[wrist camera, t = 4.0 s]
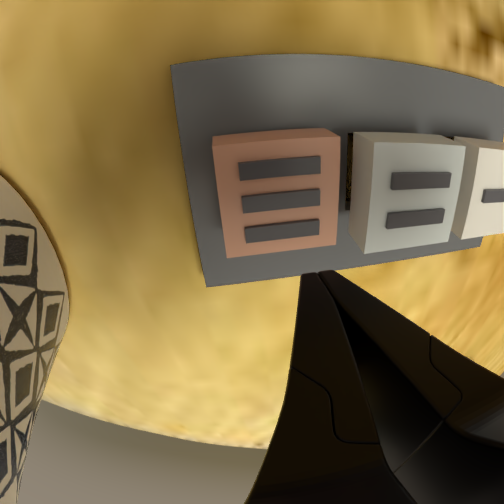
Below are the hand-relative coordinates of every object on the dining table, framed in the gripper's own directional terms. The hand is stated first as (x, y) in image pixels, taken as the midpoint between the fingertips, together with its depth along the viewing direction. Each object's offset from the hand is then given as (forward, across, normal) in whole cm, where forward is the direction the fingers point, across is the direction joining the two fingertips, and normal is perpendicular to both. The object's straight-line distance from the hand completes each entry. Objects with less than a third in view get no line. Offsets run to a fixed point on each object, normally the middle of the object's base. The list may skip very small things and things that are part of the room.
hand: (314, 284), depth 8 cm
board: (+9, -6, 0) cm, 11 cm away
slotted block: (+9, 0, 0) cm, 9 cm away
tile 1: (+8, -12, 0) cm, 14 cm away
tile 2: (+8, -6, 0) cm, 10 cm away
